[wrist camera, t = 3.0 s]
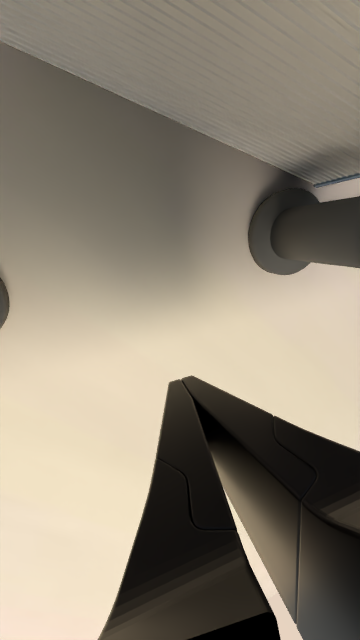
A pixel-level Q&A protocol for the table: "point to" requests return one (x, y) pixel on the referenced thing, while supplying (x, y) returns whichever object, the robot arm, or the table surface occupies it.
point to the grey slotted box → (218, 69)
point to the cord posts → (293, 235)
